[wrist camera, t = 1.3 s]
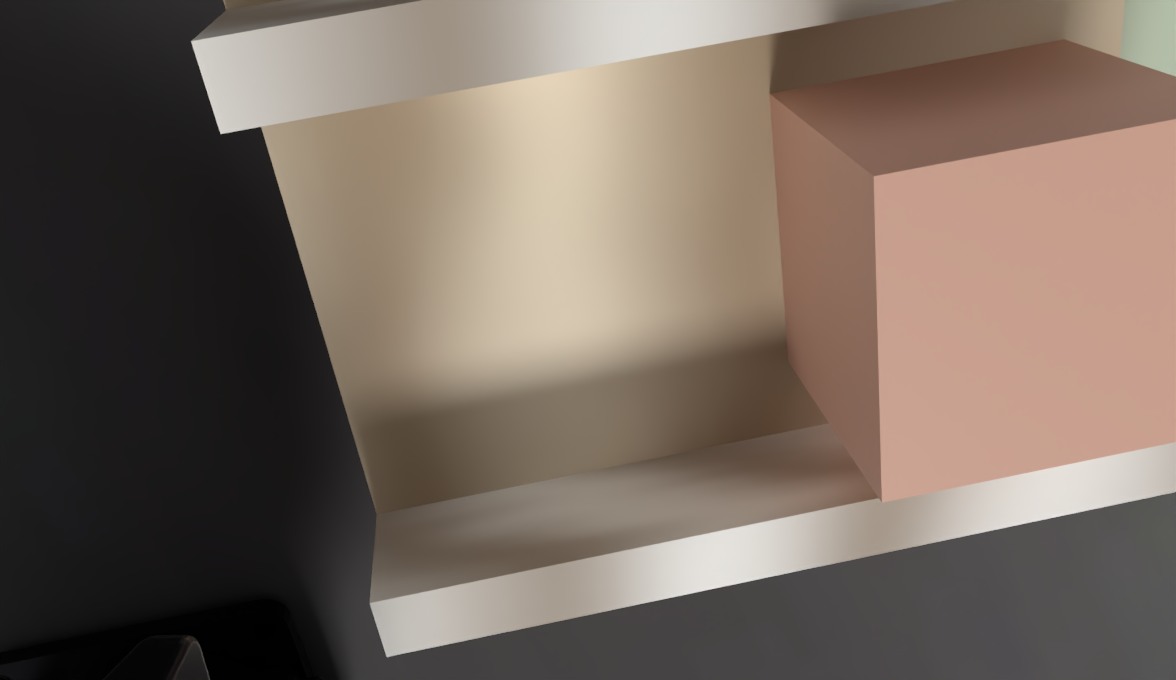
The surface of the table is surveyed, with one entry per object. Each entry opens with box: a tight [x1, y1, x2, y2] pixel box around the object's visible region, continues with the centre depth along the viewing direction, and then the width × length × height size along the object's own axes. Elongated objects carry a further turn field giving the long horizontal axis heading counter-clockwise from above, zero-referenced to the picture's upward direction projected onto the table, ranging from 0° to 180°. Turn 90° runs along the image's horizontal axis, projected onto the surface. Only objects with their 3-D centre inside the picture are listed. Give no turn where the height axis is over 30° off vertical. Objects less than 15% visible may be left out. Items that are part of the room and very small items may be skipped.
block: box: [770, 39, 1176, 503], centre depth 16 cm, size 5×5×4 cm
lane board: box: [191, 0, 1176, 657], centre depth 18 cm, size 30×12×4 cm, turn 99°
